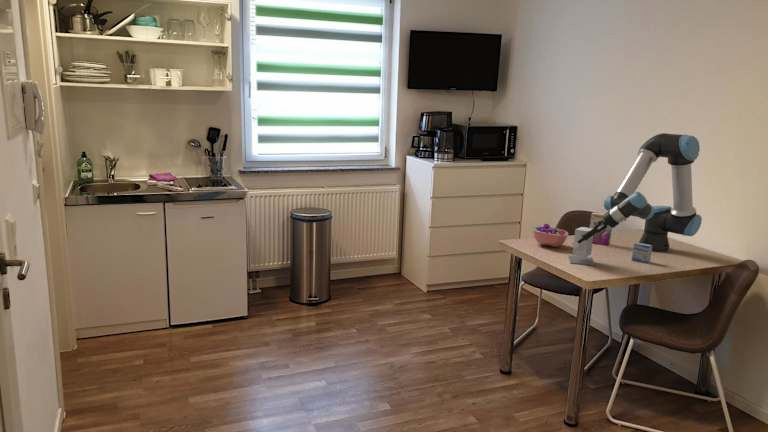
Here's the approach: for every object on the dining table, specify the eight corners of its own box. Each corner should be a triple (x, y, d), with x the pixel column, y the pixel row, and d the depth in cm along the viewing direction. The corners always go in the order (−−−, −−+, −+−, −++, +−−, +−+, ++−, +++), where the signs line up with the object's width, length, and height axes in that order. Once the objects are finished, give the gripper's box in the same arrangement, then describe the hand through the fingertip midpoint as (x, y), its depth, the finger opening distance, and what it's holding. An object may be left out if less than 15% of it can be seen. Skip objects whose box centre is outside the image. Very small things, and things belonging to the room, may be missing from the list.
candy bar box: (587, 242, 313) (590, 213, 310) (589, 240, 317) (592, 212, 314) (608, 246, 307) (612, 216, 304) (610, 244, 312) (613, 214, 308)
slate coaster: (591, 258, 281) (591, 257, 281) (594, 265, 269) (594, 264, 269) (568, 256, 284) (568, 255, 283) (570, 263, 271) (570, 262, 271)
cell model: (552, 252, 290) (554, 230, 288) (524, 242, 307) (525, 222, 305) (574, 248, 299) (577, 227, 297) (546, 239, 316) (548, 220, 313)
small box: (578, 252, 280) (581, 226, 278) (591, 254, 276) (594, 228, 274) (572, 255, 274) (575, 228, 272) (585, 257, 270) (588, 231, 268)
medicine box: (631, 260, 281) (633, 243, 279) (633, 258, 284) (635, 241, 282) (648, 263, 276) (650, 246, 274) (650, 261, 280) (652, 244, 278)
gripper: (614, 227, 255) (574, 255, 266) (624, 219, 272) (586, 246, 284) (604, 213, 256) (564, 242, 268) (614, 207, 274) (576, 234, 286)
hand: (576, 244), depth 276 cm, fingers closed on small box, 9 cm apart
